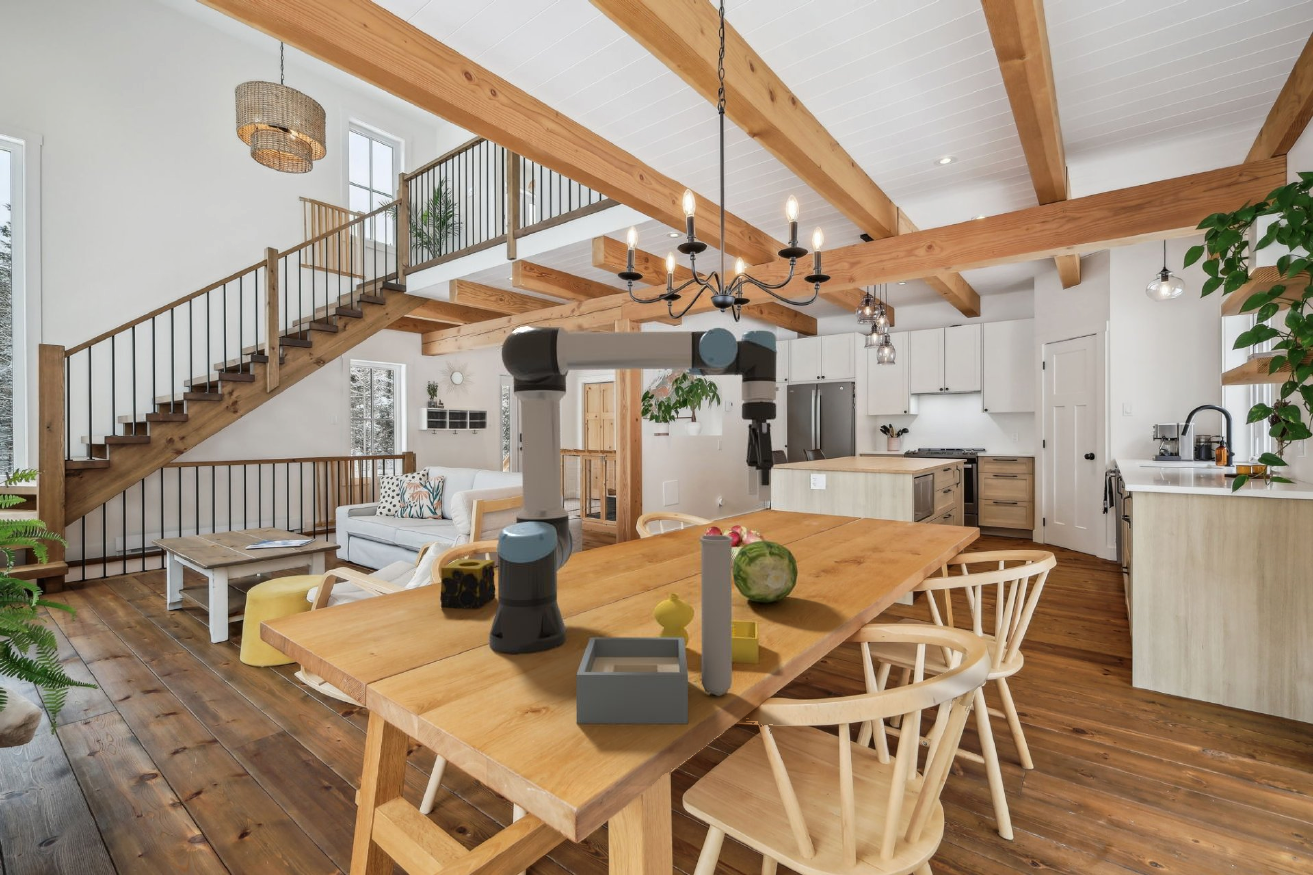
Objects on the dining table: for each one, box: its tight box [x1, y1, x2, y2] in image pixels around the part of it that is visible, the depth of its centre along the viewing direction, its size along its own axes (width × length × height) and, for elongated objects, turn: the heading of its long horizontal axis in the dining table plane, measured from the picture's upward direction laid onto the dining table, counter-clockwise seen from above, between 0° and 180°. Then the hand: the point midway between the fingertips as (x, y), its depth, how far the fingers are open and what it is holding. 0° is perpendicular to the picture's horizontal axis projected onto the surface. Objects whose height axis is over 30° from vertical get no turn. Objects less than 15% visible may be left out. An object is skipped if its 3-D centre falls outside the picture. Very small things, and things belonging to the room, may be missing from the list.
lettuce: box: [731, 540, 799, 603], centre depth 146 cm, size 16×21×15 cm
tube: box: [699, 534, 734, 697], centre depth 95 cm, size 5×5×25 cm
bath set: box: [653, 592, 760, 665], centre depth 115 cm, size 20×10×11 cm, turn 81°
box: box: [575, 636, 689, 725], centre depth 94 cm, size 16×16×7 cm
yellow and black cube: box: [439, 558, 496, 610], centre depth 148 cm, size 10×10×10 cm
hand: (758, 497), depth 132 cm, fingers open, 13 cm apart
